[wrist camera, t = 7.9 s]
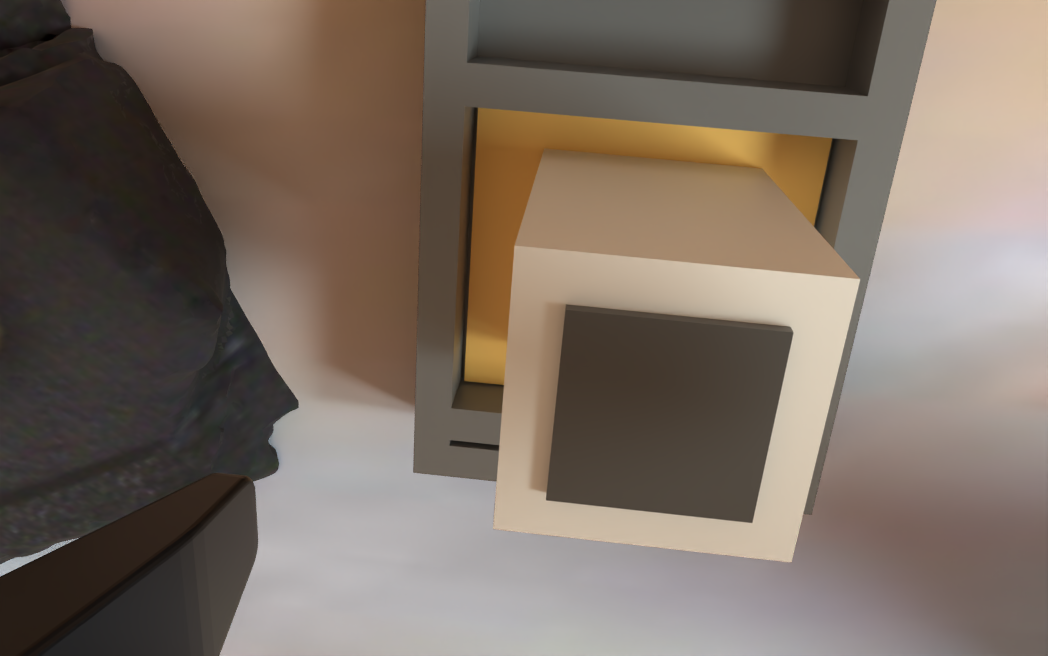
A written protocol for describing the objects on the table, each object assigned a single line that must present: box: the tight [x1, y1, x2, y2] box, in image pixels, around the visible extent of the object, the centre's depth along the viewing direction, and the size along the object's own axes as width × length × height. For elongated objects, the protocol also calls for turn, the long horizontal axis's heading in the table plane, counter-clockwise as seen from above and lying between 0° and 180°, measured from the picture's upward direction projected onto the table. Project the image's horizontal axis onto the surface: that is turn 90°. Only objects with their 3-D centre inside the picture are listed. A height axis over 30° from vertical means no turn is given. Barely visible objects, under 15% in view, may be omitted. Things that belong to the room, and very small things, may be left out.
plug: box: [493, 148, 860, 562], centre depth 15 cm, size 4×4×7 cm
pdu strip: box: [413, 0, 936, 515], centre depth 14 cm, size 20×9×8 cm, turn 176°
